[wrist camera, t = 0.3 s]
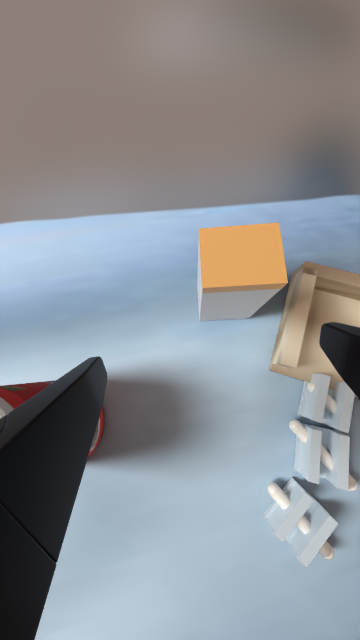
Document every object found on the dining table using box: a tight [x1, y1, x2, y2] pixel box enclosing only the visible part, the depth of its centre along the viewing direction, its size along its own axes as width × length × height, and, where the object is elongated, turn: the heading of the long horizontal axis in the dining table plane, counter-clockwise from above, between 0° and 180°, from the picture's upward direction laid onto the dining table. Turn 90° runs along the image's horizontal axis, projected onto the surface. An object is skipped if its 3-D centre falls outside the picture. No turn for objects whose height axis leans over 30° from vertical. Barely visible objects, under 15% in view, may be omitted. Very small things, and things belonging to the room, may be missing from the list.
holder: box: [269, 261, 360, 398], centre depth 20 cm, size 10×10×3 cm
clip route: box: [263, 373, 358, 568], centre depth 19 cm, size 6×14×2 cm, turn 156°
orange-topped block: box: [198, 223, 288, 321], centre depth 18 cm, size 4×5×10 cm
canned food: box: [0, 381, 105, 459], centre depth 16 cm, size 8×8×11 cm
